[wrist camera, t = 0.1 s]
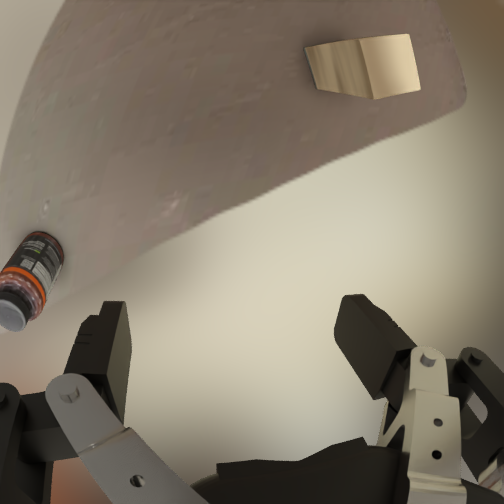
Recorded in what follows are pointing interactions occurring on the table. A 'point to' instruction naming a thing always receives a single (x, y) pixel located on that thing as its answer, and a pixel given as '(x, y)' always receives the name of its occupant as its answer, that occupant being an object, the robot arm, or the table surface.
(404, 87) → the beech block
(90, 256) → the table surface
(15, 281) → the supplement bottle
